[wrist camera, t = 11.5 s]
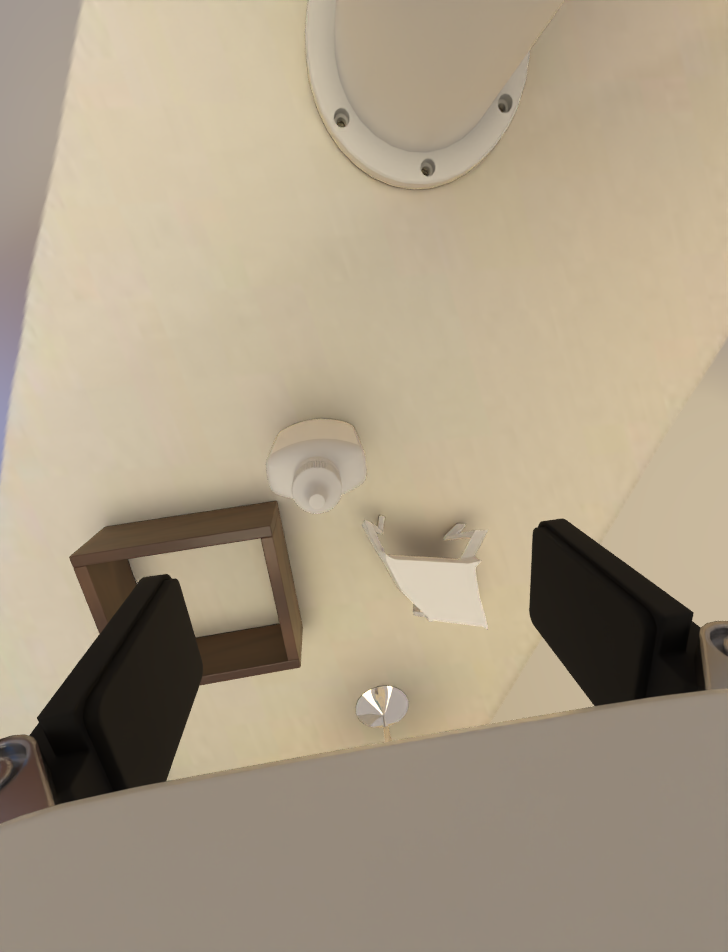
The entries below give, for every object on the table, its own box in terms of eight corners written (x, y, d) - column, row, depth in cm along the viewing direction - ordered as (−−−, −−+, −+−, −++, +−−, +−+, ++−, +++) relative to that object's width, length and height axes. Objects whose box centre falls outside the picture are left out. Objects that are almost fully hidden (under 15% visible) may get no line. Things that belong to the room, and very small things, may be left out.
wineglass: (332, 700, 36) (339, 858, 25) (398, 666, 36) (435, 811, 25) (367, 745, 39) (387, 911, 27) (429, 714, 38) (476, 868, 27)
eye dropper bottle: (291, 398, 28) (273, 432, 17) (364, 429, 29) (394, 480, 18) (269, 454, 29) (238, 523, 18) (341, 481, 30) (355, 562, 19)
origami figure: (506, 528, 33) (537, 558, 28) (459, 610, 35) (481, 650, 30) (374, 477, 30) (384, 500, 26) (332, 569, 32) (334, 606, 28)
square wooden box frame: (104, 526, 29) (68, 556, 25) (277, 500, 30) (270, 525, 26) (150, 653, 33) (125, 699, 29) (303, 627, 34) (300, 667, 30)
